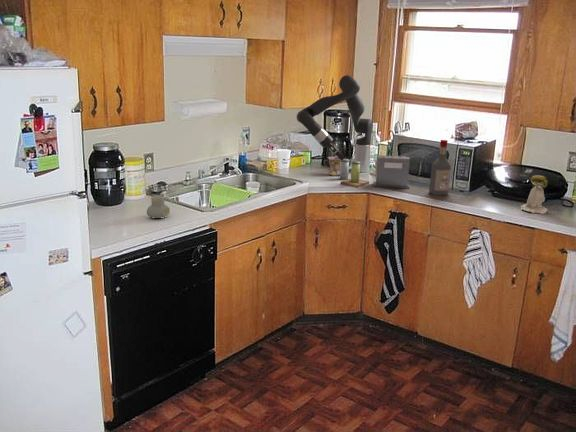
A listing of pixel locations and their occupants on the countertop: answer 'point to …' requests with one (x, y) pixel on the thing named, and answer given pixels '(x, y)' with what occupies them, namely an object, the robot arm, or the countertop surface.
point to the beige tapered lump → (536, 195)
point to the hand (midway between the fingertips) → (342, 157)
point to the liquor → (440, 173)
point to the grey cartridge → (344, 169)
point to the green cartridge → (355, 171)
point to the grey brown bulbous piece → (157, 207)
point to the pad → (359, 184)
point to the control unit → (392, 171)
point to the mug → (334, 166)
